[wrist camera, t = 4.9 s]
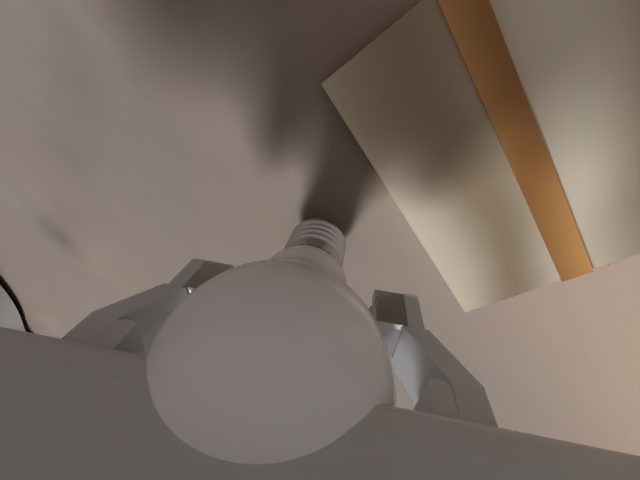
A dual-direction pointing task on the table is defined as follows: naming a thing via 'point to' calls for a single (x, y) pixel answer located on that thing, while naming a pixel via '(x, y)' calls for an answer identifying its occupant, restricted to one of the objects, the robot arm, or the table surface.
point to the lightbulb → (271, 356)
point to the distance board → (505, 136)
